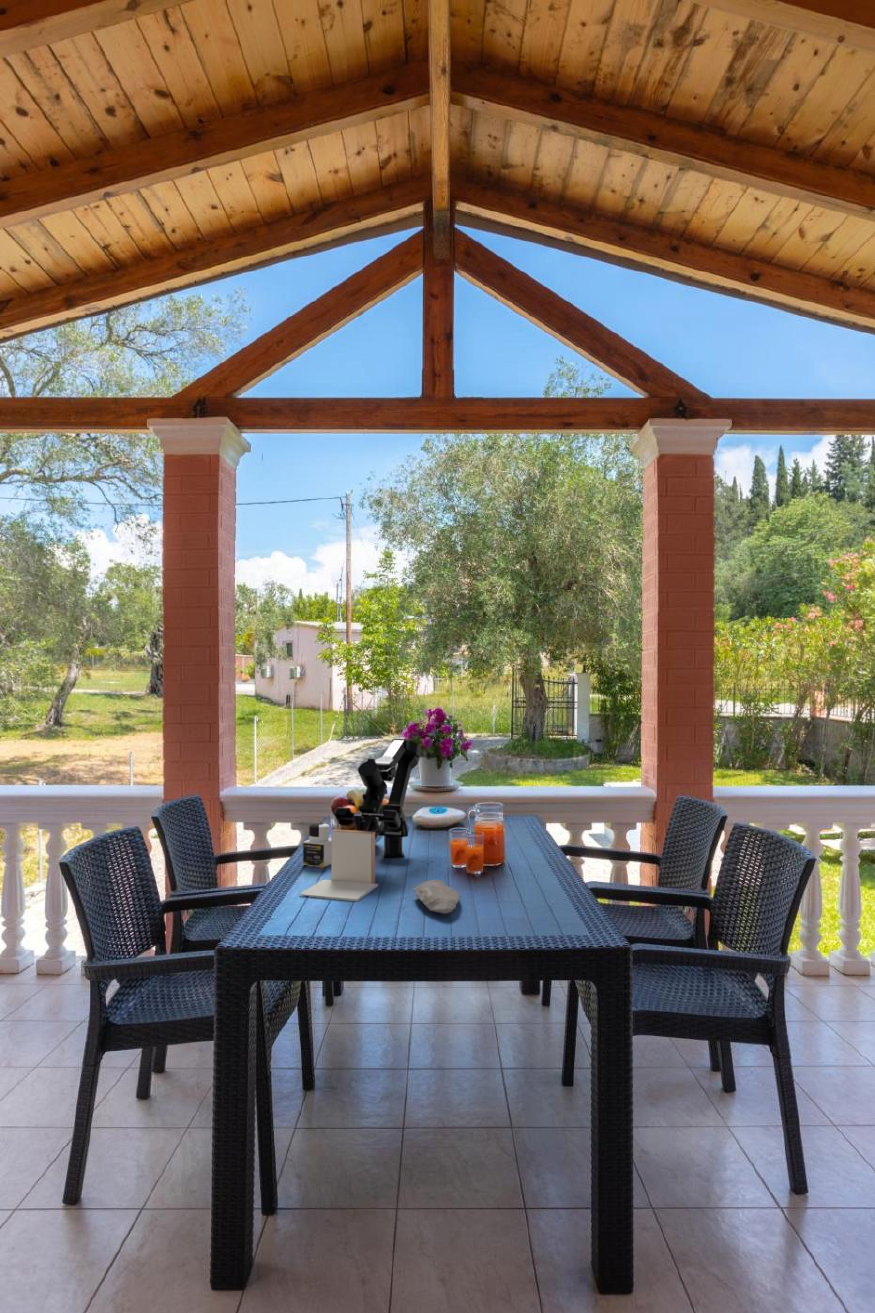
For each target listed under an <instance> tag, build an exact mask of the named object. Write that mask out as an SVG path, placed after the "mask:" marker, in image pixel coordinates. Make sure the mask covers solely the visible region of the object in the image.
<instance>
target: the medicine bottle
mask: <svg viewBox="0 0 875 1313" xmlns="http://www.w3.org/2000/svg"><path fill="white" fill-rule="evenodd" d="M308 828H309V829H308V835H309V836H308V837H309V839H308V840H304V841H303V843H302V844H303V846H302V854H303V856H302V860H303V861H302V865H303V866H304V865H308V866H307V867H313V866H315V867H314V868H325V867H327V866H330V865H331V838H330V825H329V824H327V823H325V822H315V823H312V824H310V825H309V827H308Z"/></svg>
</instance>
